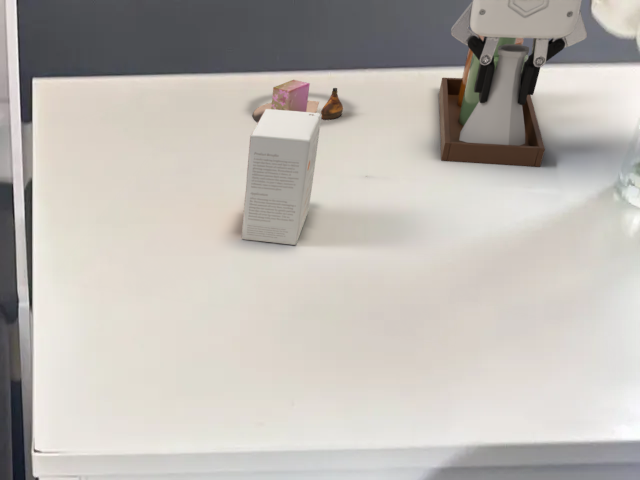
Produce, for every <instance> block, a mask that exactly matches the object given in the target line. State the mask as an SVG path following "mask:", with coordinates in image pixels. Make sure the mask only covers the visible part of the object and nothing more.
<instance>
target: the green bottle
mask: <svg viewBox="0 0 640 480" xmlns="http://www.w3.org/2000/svg"><path fill="white" fill-rule="evenodd" d="M515 42H516V38H508V37H500V38H499V41H498V44H497V47H496V49H495V52H494V64H495V69H496V66H497V63H498V59H499V55H498V47H499V46H501V45H505V44H515ZM528 57H529V54H528V55H527V56H525V58H524V62H526V61H527V59H528ZM524 62H523V65H524ZM479 64H480V61H479V60H478V59H477V57H476V56H475V55H474V53H473V55H472V59H471V64H470V68H469V73H468V78H467V82H466V87H465V91H464V96H463V100H462V105H461V109H460V114H459V119H458V122H459V123H460V124H461V125H463V126H464V125H465V123H466V122H467V120H468V119H469V117H470V115H471V114H472V112H473V111H474V109H475V107H476V106H477V104H478V102H479V93H474V87H475V82H476V78H477V73H478V69H479ZM522 69H523V66H522ZM494 71H495V70H494ZM521 73H522V71H521Z"/></svg>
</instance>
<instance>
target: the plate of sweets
mask: <svg viewBox="0 0 640 480" xmlns="http://www.w3.org/2000/svg"><path fill="white" fill-rule="evenodd" d="M310 85H311V83H310V82H307V81H301V80H297V79H292V80H289V81H286V82H284V83H281V84H278V85H275V86H273V88H272V97H271V102H269V103H265V104H262V105H260V106H258V107H257V108H255V109H254V111H253V112H252V115H251V116H252V118H253V120H254V121H255V122H256V123H258V122H259V120H260V118H261V116H262V114H263V113H264V111H265V109H275V110H287V111H300V112H312V113H318V112H317V111H318V109H319V104H320V101H318V100H317V101H316V100H309V91H310ZM343 111H344V106H343V103H342V102H341V100H340V98H339V95H338V88H337V87H333V88H332V91H331V94H330V97H329V98H328V100H327V102H326V103H325V104H324V105H323V107H322V109H321V111H320V113H321V114H322V117H321V120H322V119H323V120H334V119H338V118H339V117H340V116H341V115H342V114H343Z"/></svg>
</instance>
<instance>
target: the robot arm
mask: <svg viewBox="0 0 640 480" xmlns="http://www.w3.org/2000/svg"><path fill="white" fill-rule="evenodd" d="M582 1H583V0H472V1H470V4H468V6H467V7H466V8H465V9H464V11H463V12H462V13H461V15H460V16H459V17H458V19H457V20H456V22H454V24H453V25H452V27H450V28H451V29H450V34H451V36H452V37H453V38H454V39H456V40H457V41H458V42H461V44H463V45H465V46H467V47H468V49H469V48H470V50H471V51H472V52H473V53H474V55H475V56H476V57H477V59H478V60H479V61H480V64H479V69H478V73H477V78H476V82H475V87H474V93H479V101H480V103H485V102H487V100H488V96H489V91H490V87H491V83H492V79H493V74H494V70H495V64H494V52H495V49H496V47H497V44H498V41H499V38H500V37H508V38H523V39H532V47H531V53H530V55H528V59H527V61H526V62H524V65H523V69H522V73H521V85H520V94H519V99H518V103H519V105H525V102H526V98H527V95H531V96H533V95H534V94H535V90H536V86H537V81H538V79H539V74H540V71H541V67H543V66H544V65H546V64H547V63H546V62H548V61H549V60H551V59H552V58H553V57H555V56H556V55H557V54H559V53H561V51H562V50H564V49H565V48H569V47H571V46H573V45H576V44H578V43H580V42H582V41H585V40H586V39H587V37H588V32H587V28H586V24H585V21H584V17H583V14H582V12H581V5H582ZM477 34H478V35H481V36H484V39H483V41H482V39H481V38H480V37H479V36H478V35H477Z"/></svg>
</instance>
